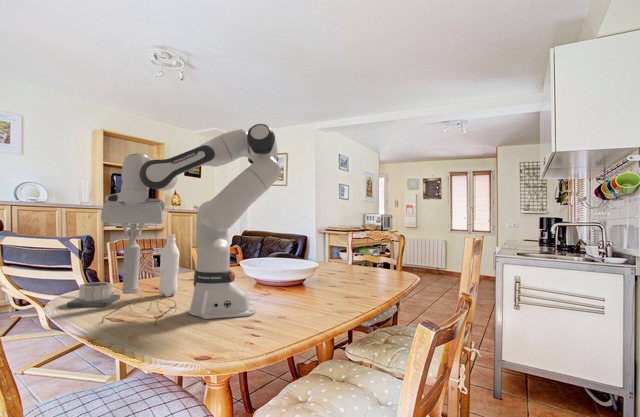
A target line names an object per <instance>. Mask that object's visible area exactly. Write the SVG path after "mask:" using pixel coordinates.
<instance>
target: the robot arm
mask: <svg viewBox="0 0 640 417" xmlns="http://www.w3.org/2000/svg"><path fill="white" fill-rule="evenodd" d="M278 154H279V153H278V144H277V140H276V135H275V132H274V131H273V129H272V128H271V126H269V125H267V124H265V123H258V124H257V123H256V124H255V125H252V126H251V127H250V128H249V129H248V131H247V130H245V129H243V128H239V129H233V130H231V131H228V132H225V133H222V134H220V135H217V136H214V137H212V139H210V140H207V141H206V142H204V143H203V144H200V145H199V146H196V147H195V148H193V149H191V150H187V151H184V152H182V153H180V154H176V155H175V156H172V157H169V158H165V159H164V158H163V159H152V158H151V157H150V156H148V155H147V154H144V153H131V154H128V155H127V156H125V157H124V158H123V162H122V167H121V176H120V177H121V180H122V181H121V182H122V184H121V186H120V192H116V193H112V194H108V195H105V197H104V201H105V203H104V204H103V206H102V208H101V209H102V210H101V215H100V219H101V220H100V221H101V222H102V223H107V224H108V223H109V224H111V223H112V224H121V228H122V229H123V231H124V236H125V237H130V229H128V226H129V224H138V227H139V228H138V229H137V230H136V231H135V236H136V237H141V235H142V231H143V229H144V228H145V227H146V224H150V225H151V224H152V225H153V224H156V225H162V224H163V223H164V222H165V212H164V210H165V209H166V208H165V206H166V204H165V201H163V200H161V199H160V198H149V190H150V189H152V190H157V191H162V192H163V191H169V190H171V189H172V188H174V187H175V185H176V183H177V179H178V178H177V176H180V175H182V174H184V173H186V172H188V171H189V172H190V171H191V170H193V169H196V168H198V167H203V166H207V167H208V166H209V167H213V168H215V167H220V166H224V165H228V164H230V163H232V162H234V161H235V160H238V159H240V158H243V157H244V158H245V157H246V158H247V162H248V163H249V164H250V165H249V166H248V167H247V168H245V169H244V170H243V171H241V173H239V174H238V175H237V176H235V177H234V178H233V179H232V180H230V182H228V184H227V185H225V187H223V189H222V190H221V191H219V192H218V193H217V194H216V195H214V197H213V198H212V199H210V200H207V201H205V202H203V203H202V204H200V206H199V207H198V209H197V212H196V244H197V245H196V265H195V270H194V273H193V288H194V289H193V295H192V298H191V302H190V307H189V310H188V314H190V315H192V316H195V317H200V318H201V319H204V320H206V319H207V320H208V319H210V320H211V319H221V318H223V319H224V318H236V317H237V318H238V317H239V318H241V317H250V316H252V315H254V314H256V313H255V312H256V305H254V303H251V302H250V295H249V292H248V291H247V289H245V288H243V286H241V285H240V284H239V283H237V282H236V281H235V278H236V274H235V271H232V270H230V261H231V260H230V258H231V245H230V239H229V229H230V228H232V226H234V224H235V223H236V222H237V221H238V220H239V219H240V218H241V217H242V216H243V215H244V214H245V213H246V211H247V210H248V209H249V207H250V206H251V205H253V203H254V202H256V201H257V200H259V198H260V197H261V196H262V195H263V194H265V193H266V192H267V191H268V190H269V189H270V188H271V187H272V186H273V184H274V183H275V182H276V181H277V180H278V179H279V177H280V176H281V173H282V169H281V165H280V164H279V156H278Z"/></svg>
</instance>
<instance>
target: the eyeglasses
mask: <svg viewBox="0 0 640 417" xmlns="http://www.w3.org/2000/svg"><path fill="white" fill-rule="evenodd" d="M134 299H142V297H139V296H138V297H134V298H131V299H130V302H128V303H126V304H124V305H122V306H120V307H119V308H117V309H115V310H113V311H111V312H109V313H107V314H106V315H103V317H102V320H101V324H104V319H105V318H106V317H107V316H109V315H111V314H113V313H115V312H116V311H119V310H120V309H122V308H124V307H126V306H127V305H129V307H128V308H129V310H130V311H131V312H132V311H134V310H133V309H131V302H132V301H133V300H134ZM145 299H147V300H149V301H150V306H149V308H148V309H147V310H146V312H147V311H149V310H150V309H151V307H152V303H153V301H152V300H151V299H153V300H155V299H156V300H157V299H158V300H159V301H161V300H163V298H158V297H156V298H155V297H154V298H153V297H152V298H149V297H145ZM169 300H171V301H173V302H174V304H175V305H174V306H172V307H171V308H169V309H168V310H166V311H165V312H164V313H163V311H162V310H161V309H160V308H159V302H156V303H157V309H158V310H159V312H162V314H161V315H160V316H158V317H156V318H155V321H154V326H155V327H156V326H157V321H158V320H159V319H160V318H161V317H163V316H164V315H165V314H167V313H168V312H170V311H171V310H172V309H174V308H176V307H177V303H176V301H175V300H174V299H173V298H169ZM174 312H177V309H175V310H174Z"/></svg>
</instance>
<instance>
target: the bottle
mask: <svg viewBox="0 0 640 417" xmlns="http://www.w3.org/2000/svg"><path fill="white" fill-rule="evenodd" d="M137 225H138V223H129V231H130V236H129V241H128V243H127V244H125V246H124V247H123V275H122V278H123V280H122V282H123V283H122V284H123V285H122V288H121V290H122V291H121V292H122V294H124V295H134V294H137V293H139V275H140V274H139V273H140V261H141V260H140V258H141V246H140V245H139V244H138V243H137V241H136V240H137V236H135V231H137V227H138V226H137Z"/></svg>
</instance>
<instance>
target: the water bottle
mask: <svg viewBox="0 0 640 417" xmlns="http://www.w3.org/2000/svg"><path fill="white" fill-rule="evenodd" d="M176 240H177V239H176V234H173V233H169V234H167V236H166V243H165V245H164V247H163V248H162V250H161V252H160V266H159V274H160V278H159V283H158V287H157V290H158V294H159V296H160V297H167V298H168V297H171V296H172V297H174V296H176V294H177V293H178V292H177V291H178V288H179V285H178V284H179V283H178V272H179V269H180V266H179V265H180V264H179V263H180V251H179V248H178V246H177V244H176Z"/></svg>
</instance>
